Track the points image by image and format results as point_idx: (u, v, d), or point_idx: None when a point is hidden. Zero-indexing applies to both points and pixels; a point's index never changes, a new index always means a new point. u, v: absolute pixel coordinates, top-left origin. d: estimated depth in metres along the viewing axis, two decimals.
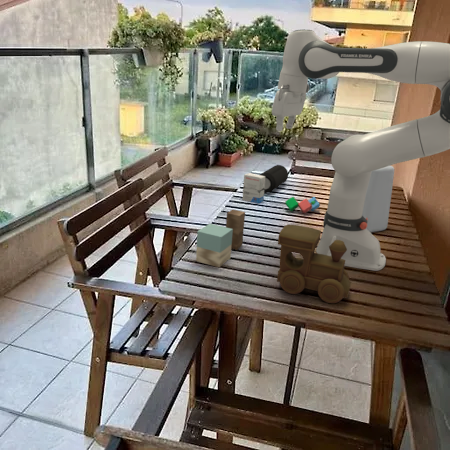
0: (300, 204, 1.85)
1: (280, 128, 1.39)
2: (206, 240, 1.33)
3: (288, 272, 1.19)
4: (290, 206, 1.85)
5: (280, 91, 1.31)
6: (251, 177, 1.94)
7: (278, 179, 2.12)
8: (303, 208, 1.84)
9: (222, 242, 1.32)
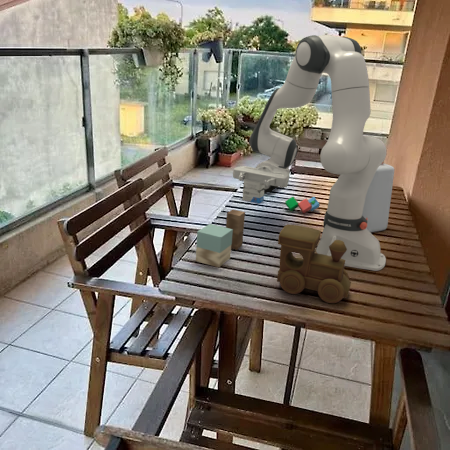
0: (300, 204, 1.85)
1: None
2: (206, 240, 1.33)
3: (288, 272, 1.19)
4: (290, 206, 1.85)
5: None
6: None
7: None
8: (303, 208, 1.84)
9: (222, 242, 1.32)
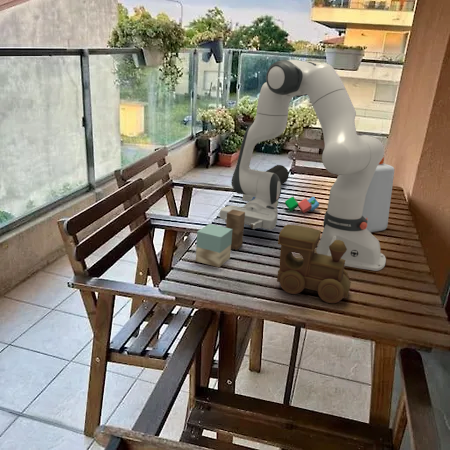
0: (300, 204, 1.85)
1: None
2: (205, 240, 1.33)
3: (288, 272, 1.19)
4: (290, 206, 1.85)
5: None
6: None
7: None
8: (303, 208, 1.84)
9: (222, 242, 1.32)
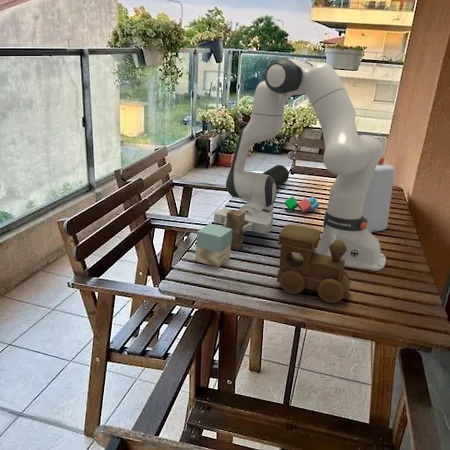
0: (300, 204, 1.85)
1: None
2: (205, 240, 1.33)
3: (288, 272, 1.19)
4: (290, 206, 1.85)
5: None
6: None
7: (278, 179, 2.12)
8: (303, 208, 1.84)
9: (222, 242, 1.32)
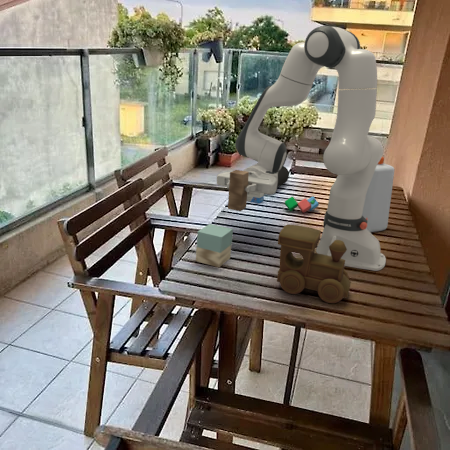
0: (300, 204, 1.85)
1: None
2: (206, 240, 1.33)
3: (288, 272, 1.19)
4: (290, 206, 1.85)
5: None
6: None
7: (279, 179, 2.12)
8: (303, 208, 1.84)
9: (223, 242, 1.32)
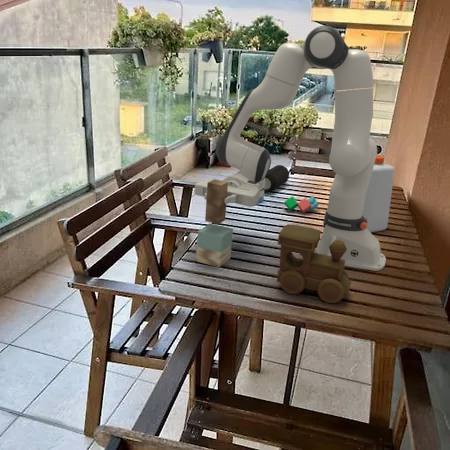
0: (299, 204, 1.85)
1: None
2: (206, 240, 1.33)
3: (288, 272, 1.19)
4: (289, 206, 1.85)
5: None
6: None
7: (279, 179, 2.12)
8: (303, 208, 1.84)
9: (223, 242, 1.32)
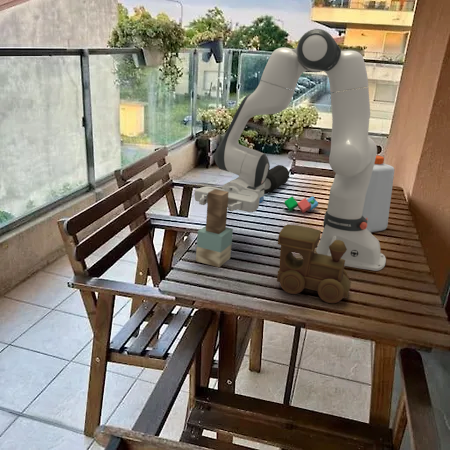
0: (299, 204, 1.85)
1: None
2: (206, 240, 1.33)
3: (288, 272, 1.19)
4: (289, 206, 1.85)
5: None
6: None
7: (279, 179, 2.12)
8: (303, 208, 1.84)
9: (223, 242, 1.32)
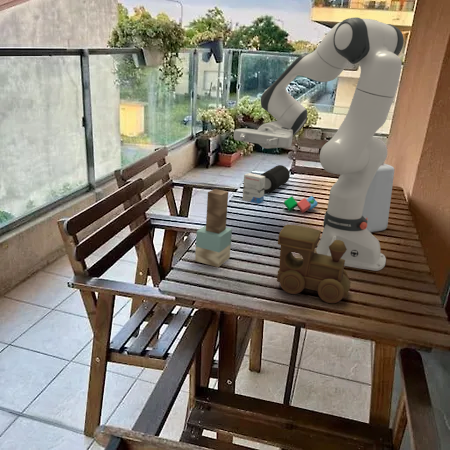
0: (299, 204, 1.85)
1: None
2: (205, 240, 1.33)
3: (288, 272, 1.19)
4: (289, 206, 1.85)
5: None
6: (251, 177, 1.94)
7: (279, 179, 2.12)
8: (302, 207, 1.84)
9: (222, 242, 1.32)
